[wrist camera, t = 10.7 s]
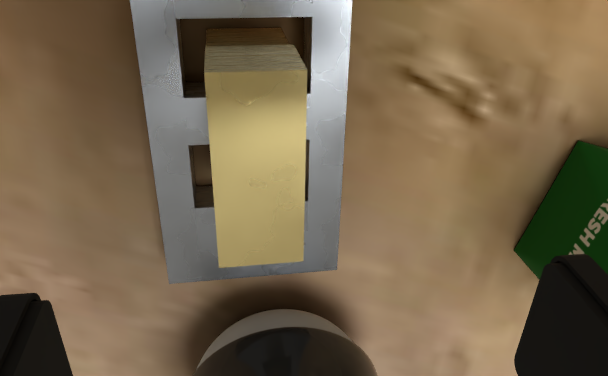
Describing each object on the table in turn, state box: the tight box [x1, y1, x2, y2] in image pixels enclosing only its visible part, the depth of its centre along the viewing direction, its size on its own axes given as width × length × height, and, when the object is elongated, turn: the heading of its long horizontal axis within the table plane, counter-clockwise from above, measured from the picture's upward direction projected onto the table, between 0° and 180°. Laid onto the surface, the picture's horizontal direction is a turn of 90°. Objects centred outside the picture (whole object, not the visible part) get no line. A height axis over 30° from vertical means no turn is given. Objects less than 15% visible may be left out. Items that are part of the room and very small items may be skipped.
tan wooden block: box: [204, 28, 307, 268], centre depth 20 cm, size 7×3×7 cm, turn 179°
